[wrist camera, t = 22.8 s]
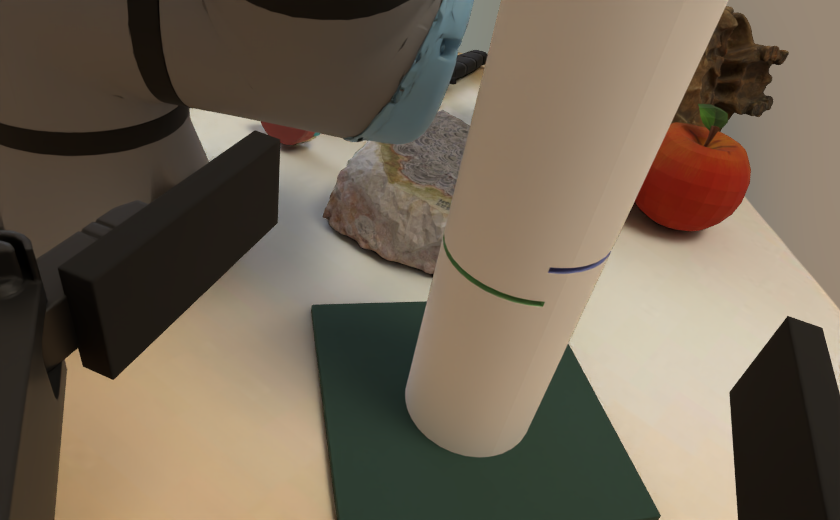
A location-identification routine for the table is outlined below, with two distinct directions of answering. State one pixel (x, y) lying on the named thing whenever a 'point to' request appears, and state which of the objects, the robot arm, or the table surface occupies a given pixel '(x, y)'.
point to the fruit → (695, 175)
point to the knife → (468, 63)
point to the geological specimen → (401, 194)
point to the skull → (731, 72)
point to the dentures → (288, 133)
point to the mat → (450, 472)
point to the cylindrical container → (543, 201)
